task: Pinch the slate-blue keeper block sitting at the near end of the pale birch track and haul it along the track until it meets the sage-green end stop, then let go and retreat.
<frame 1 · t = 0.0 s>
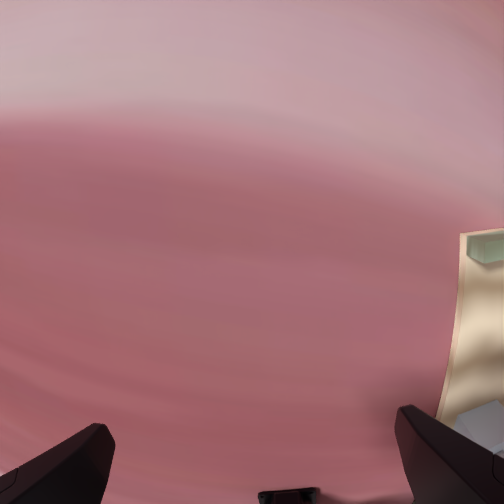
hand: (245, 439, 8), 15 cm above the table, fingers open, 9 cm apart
track: (485, 360, 23), on the table
keeper: (485, 442, 20), point 4 cm above the table, slide at 0.0 cm
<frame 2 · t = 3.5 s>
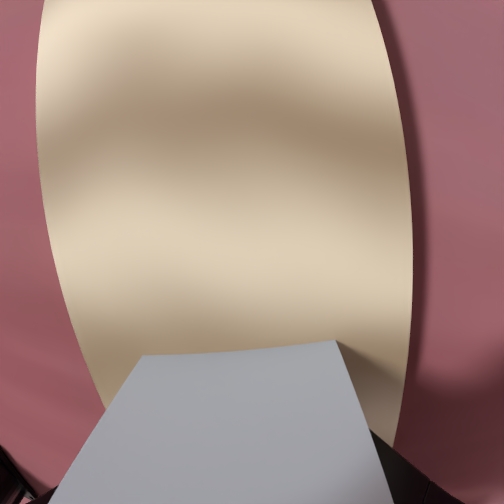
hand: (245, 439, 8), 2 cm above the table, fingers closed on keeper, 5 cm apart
track: (208, 145, 8), on the table
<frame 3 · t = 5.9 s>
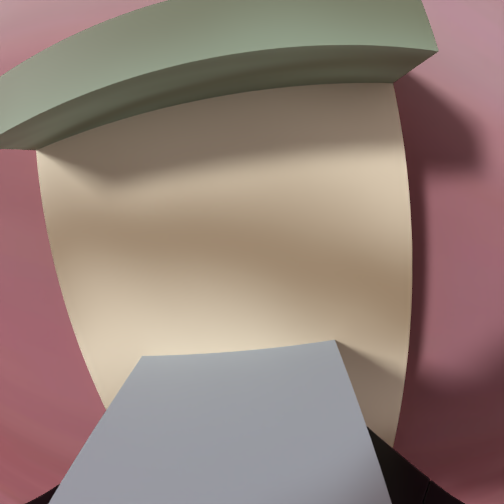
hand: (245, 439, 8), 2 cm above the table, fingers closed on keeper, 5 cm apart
track: (258, 444, 10), on the table
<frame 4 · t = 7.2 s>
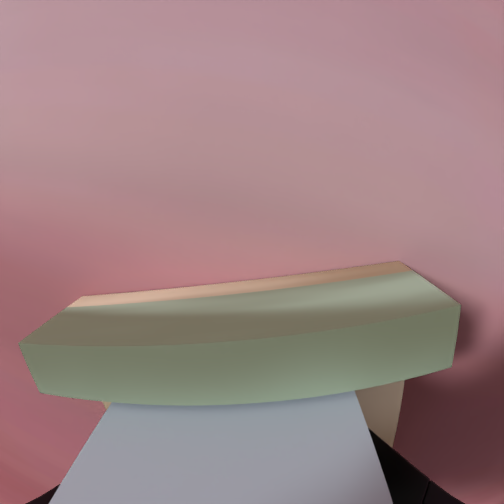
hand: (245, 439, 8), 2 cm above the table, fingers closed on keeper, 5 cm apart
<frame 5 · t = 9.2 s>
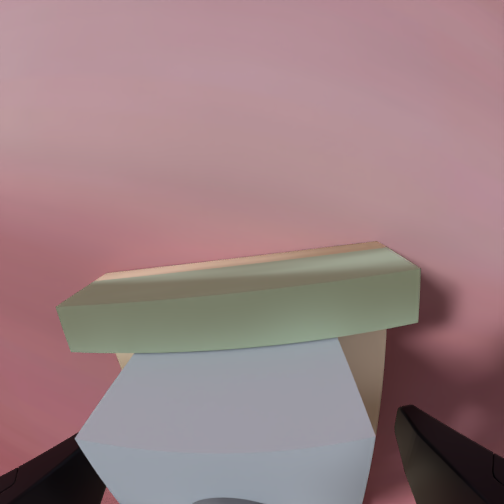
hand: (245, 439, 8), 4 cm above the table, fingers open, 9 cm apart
track: (272, 486, 14), on the table
keeper: (241, 444, 7), point 4 cm above the table, slide at 16.9 cm
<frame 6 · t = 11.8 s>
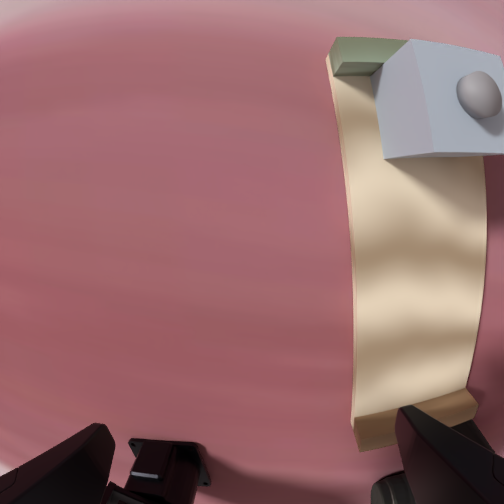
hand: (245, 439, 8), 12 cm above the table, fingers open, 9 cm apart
camera: (417, 463, 24), on the table
track: (422, 258, 19), on the table
keeper: (446, 106, 12), point 5 cm above the table, slide at 16.9 cm
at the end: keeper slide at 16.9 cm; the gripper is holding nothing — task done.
